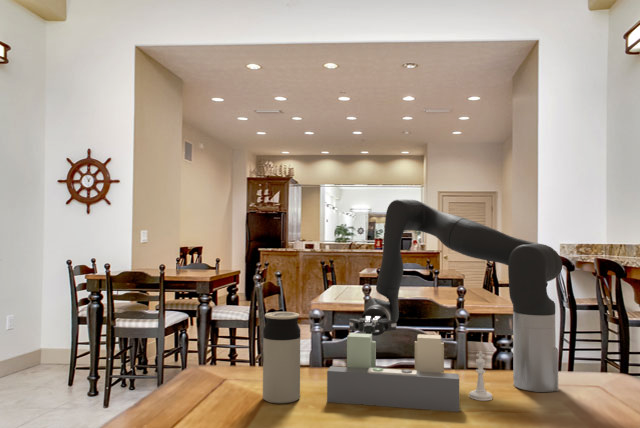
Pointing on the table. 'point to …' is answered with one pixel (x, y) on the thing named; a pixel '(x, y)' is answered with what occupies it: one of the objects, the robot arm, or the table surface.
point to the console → (393, 388)
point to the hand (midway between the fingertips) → (368, 329)
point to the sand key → (429, 353)
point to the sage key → (361, 351)
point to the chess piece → (480, 382)
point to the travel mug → (281, 358)
